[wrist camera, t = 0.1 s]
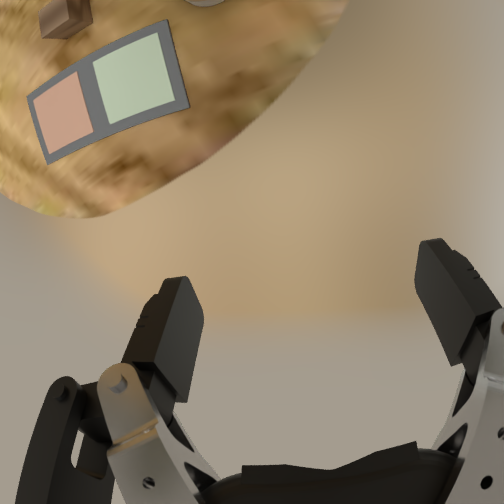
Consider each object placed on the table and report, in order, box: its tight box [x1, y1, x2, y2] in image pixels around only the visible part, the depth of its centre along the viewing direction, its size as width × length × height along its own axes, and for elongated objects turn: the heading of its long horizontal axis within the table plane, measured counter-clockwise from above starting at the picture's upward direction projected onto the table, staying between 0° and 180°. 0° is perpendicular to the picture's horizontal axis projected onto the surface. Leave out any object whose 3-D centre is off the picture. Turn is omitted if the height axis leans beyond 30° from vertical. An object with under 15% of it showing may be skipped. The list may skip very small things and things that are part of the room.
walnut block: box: [38, 0, 93, 39], centre depth 21 cm, size 5×5×6 cm
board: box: [27, 19, 190, 165], centre depth 30 cm, size 13×26×1 cm, turn 102°
